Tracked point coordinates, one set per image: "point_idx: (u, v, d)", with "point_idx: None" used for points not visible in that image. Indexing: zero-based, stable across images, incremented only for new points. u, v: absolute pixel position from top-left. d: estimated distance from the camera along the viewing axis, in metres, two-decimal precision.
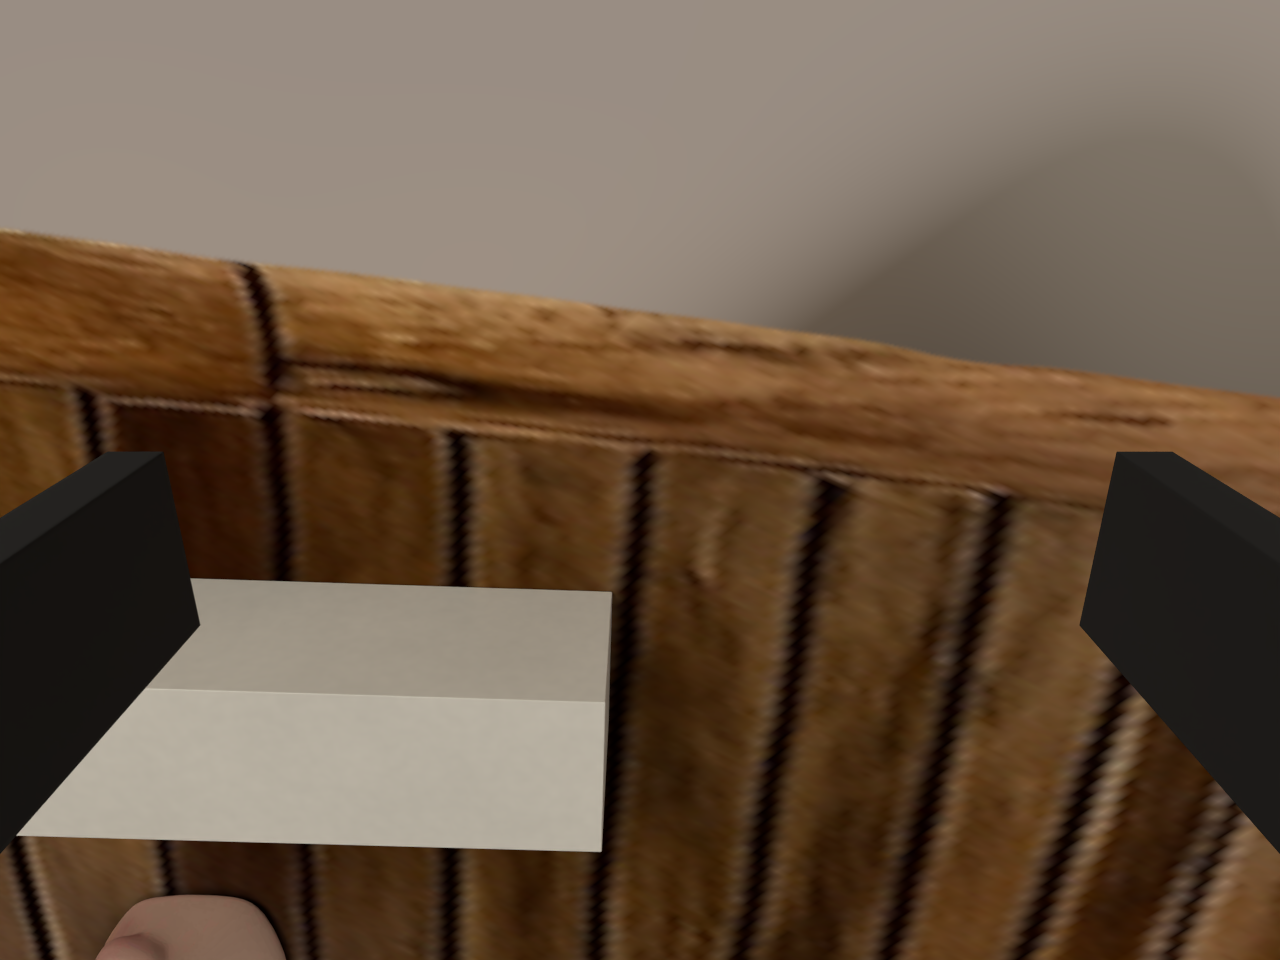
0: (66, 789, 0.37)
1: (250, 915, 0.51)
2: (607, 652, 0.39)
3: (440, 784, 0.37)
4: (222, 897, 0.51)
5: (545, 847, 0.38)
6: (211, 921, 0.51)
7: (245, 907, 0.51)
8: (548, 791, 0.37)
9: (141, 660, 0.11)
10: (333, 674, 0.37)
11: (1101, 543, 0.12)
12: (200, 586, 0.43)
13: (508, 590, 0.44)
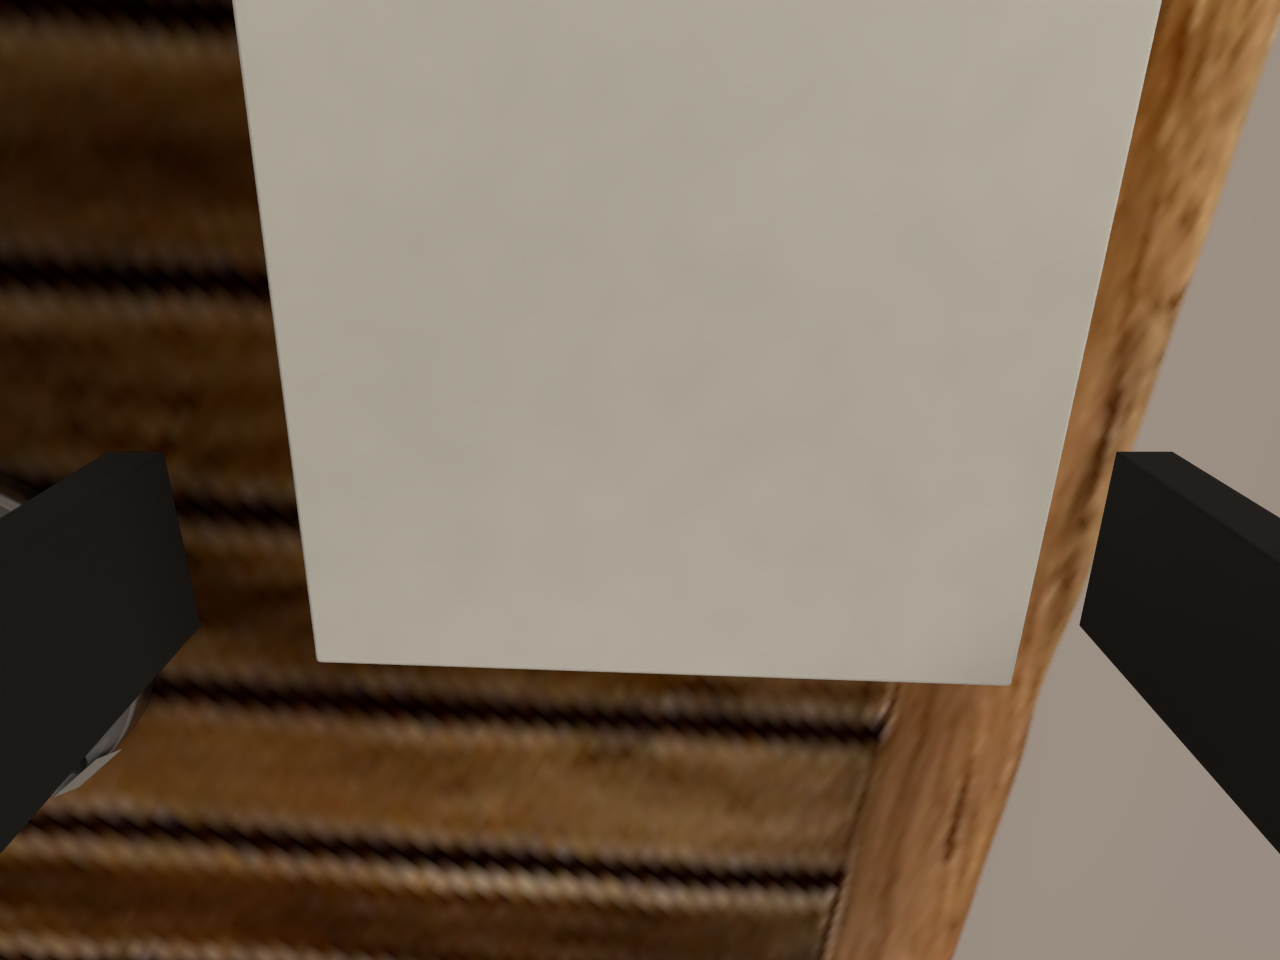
0: None
1: None
2: None
3: None
4: None
5: (308, 462, 0.09)
6: None
7: None
8: (609, 485, 0.09)
9: (142, 661, 0.11)
10: None
11: (1101, 543, 0.12)
12: None
13: None
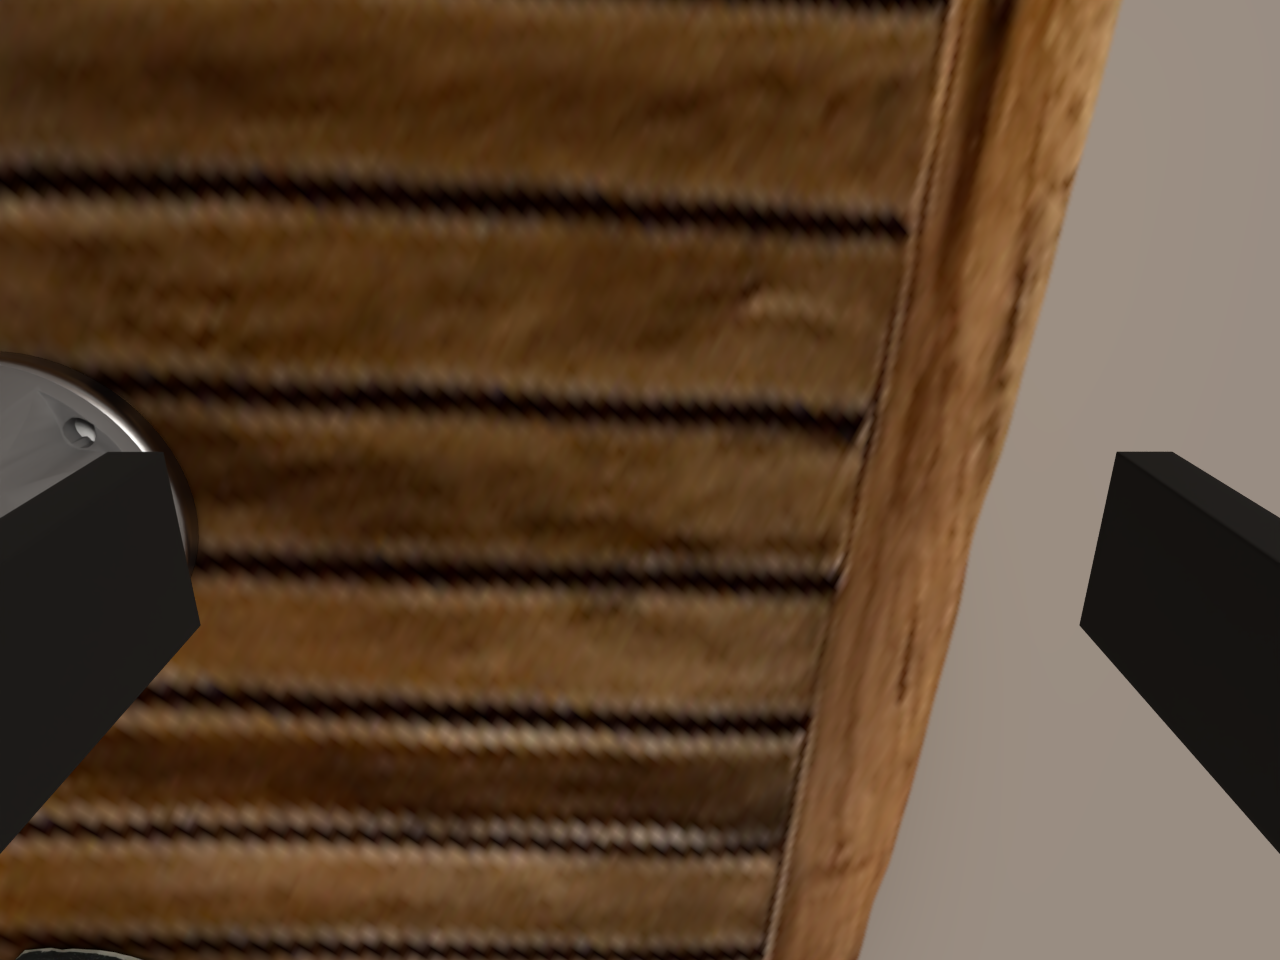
0: None
1: None
2: None
3: None
4: None
5: None
6: None
7: None
8: None
9: (142, 661, 0.11)
10: None
11: (1101, 543, 0.12)
12: None
13: None
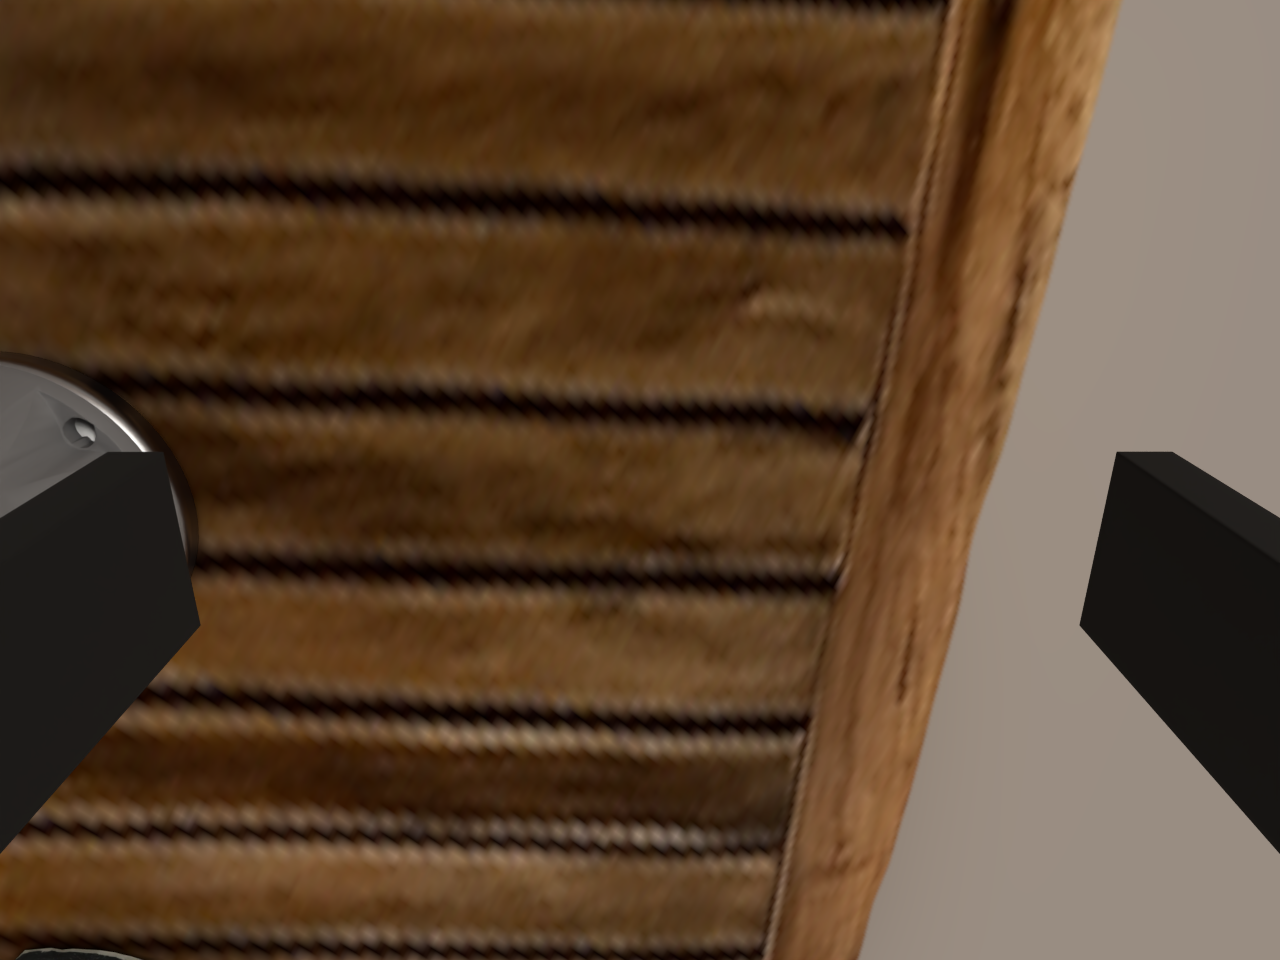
0: None
1: None
2: None
3: None
4: None
5: None
6: None
7: None
8: None
9: (142, 661, 0.11)
10: None
11: (1101, 543, 0.12)
12: None
13: None
